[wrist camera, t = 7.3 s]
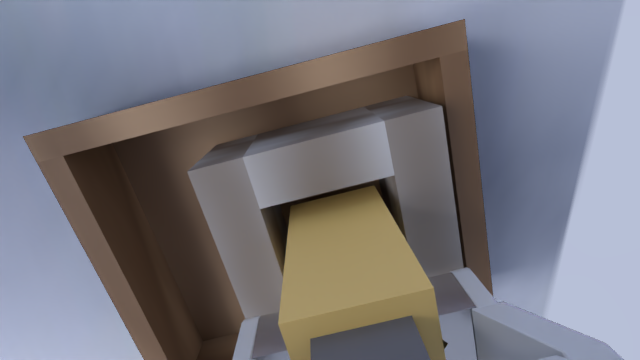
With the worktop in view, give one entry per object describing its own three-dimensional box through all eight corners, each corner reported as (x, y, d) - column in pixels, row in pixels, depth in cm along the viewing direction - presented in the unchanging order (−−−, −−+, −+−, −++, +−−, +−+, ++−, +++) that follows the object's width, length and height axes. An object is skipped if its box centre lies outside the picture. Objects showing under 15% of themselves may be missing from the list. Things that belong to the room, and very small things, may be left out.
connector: (312, 276, 16) (322, 604, 6) (290, 205, 14) (262, 472, 5) (389, 258, 15) (524, 564, 6) (373, 185, 14) (510, 418, 5)
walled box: (196, 347, 20) (164, 433, 16) (89, 119, 16) (-1, 142, 11) (460, 284, 20) (509, 353, 15) (425, 30, 15) (478, 14, 11)
